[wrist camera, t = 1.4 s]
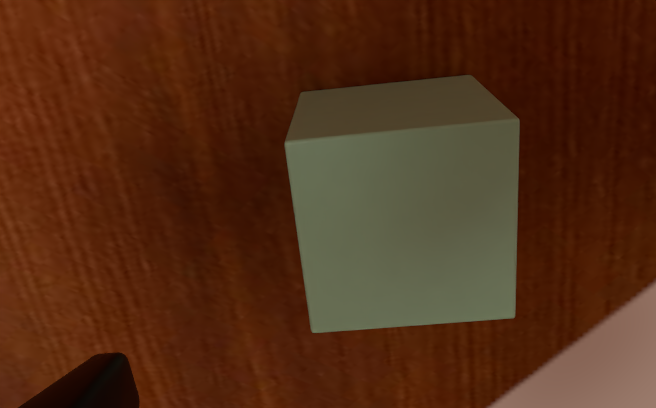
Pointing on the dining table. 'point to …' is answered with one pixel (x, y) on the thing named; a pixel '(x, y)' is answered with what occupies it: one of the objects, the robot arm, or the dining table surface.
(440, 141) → the green block
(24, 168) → the dining table surface
